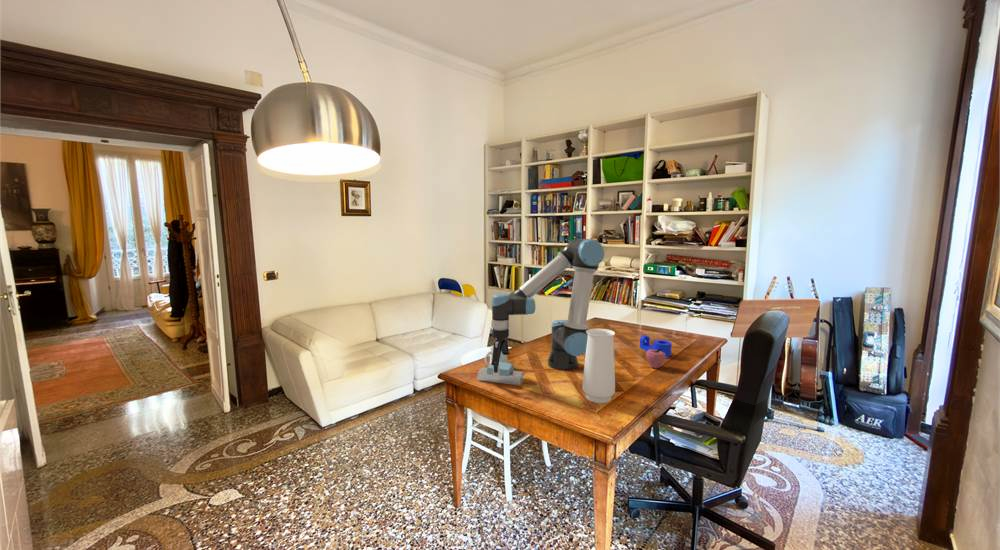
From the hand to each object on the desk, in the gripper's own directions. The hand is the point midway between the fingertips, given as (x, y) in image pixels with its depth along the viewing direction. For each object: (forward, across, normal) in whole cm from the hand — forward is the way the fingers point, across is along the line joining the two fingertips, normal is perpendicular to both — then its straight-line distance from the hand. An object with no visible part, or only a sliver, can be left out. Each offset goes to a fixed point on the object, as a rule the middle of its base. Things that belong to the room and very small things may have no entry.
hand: (500, 373), depth 183 cm
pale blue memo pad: (+3, 0, 0) cm, 3 cm away
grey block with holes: (+3, 0, 0) cm, 3 cm away
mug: (+4, -15, -7) cm, 17 cm away
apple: (+3, -37, +70) cm, 79 cm away
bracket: (+4, -61, +72) cm, 95 cm away
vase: (+3, +7, +44) cm, 45 cm away
